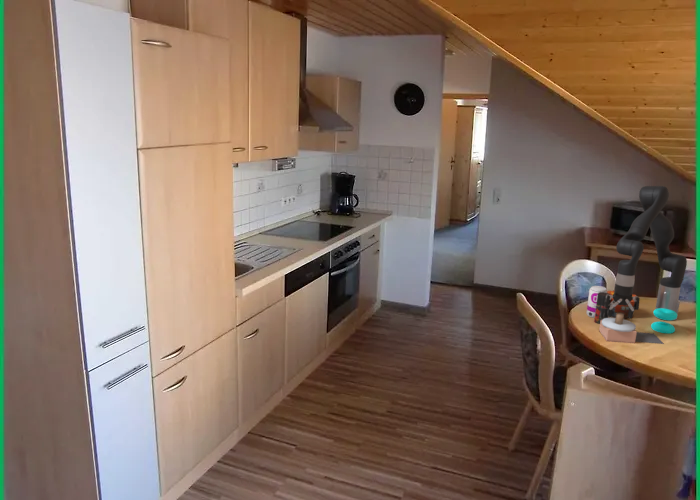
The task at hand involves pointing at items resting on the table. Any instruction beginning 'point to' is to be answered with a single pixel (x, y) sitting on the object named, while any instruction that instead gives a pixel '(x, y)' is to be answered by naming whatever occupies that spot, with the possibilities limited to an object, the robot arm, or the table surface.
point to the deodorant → (601, 308)
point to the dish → (617, 335)
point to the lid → (619, 323)
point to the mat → (647, 338)
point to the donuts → (664, 315)
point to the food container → (621, 307)
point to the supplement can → (593, 299)
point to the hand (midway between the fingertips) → (619, 317)
